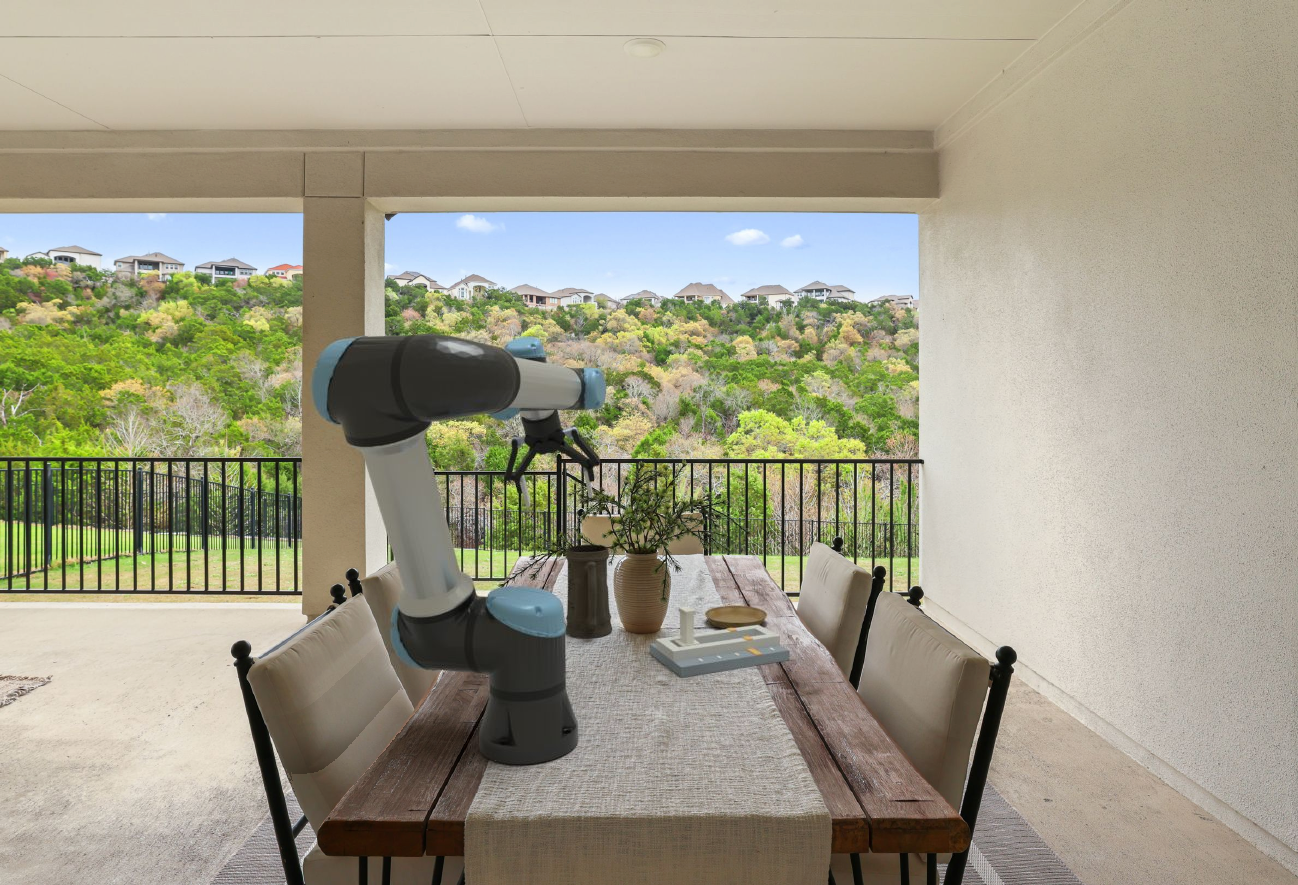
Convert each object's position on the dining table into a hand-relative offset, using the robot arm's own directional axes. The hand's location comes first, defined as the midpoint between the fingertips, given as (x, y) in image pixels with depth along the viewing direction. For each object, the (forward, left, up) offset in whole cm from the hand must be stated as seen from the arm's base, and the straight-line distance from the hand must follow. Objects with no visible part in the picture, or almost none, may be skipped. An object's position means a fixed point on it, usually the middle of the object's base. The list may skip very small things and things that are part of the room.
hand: (559, 499), depth 163 cm
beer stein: (+5, -8, -32) cm, 34 cm away
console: (-21, -27, -32) cm, 47 cm away
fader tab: (-21, -20, -30) cm, 42 cm away
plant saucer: (-1, -42, -33) cm, 53 cm away
